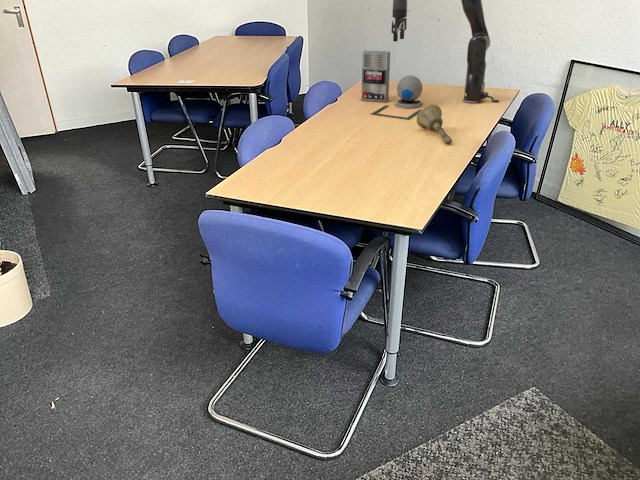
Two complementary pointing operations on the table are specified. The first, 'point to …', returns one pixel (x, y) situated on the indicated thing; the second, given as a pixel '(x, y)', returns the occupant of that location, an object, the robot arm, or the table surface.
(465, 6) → the robot arm
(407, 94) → the webcam
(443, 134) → the handbell
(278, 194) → the table surface
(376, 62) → the cassette tape recorder
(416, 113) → the tape bay
